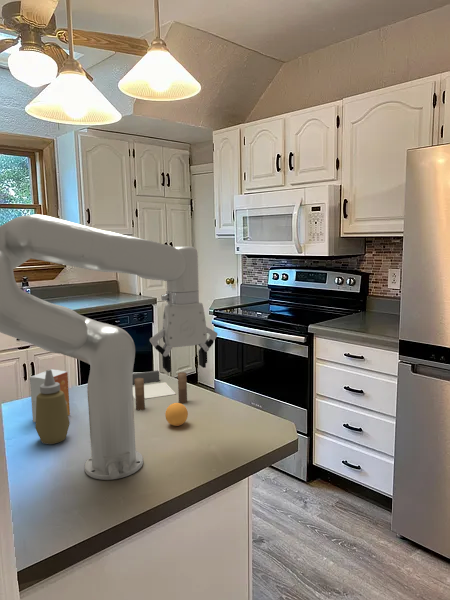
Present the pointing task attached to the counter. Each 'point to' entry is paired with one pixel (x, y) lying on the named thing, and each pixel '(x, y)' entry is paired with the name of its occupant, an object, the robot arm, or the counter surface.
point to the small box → (40, 379)
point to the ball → (176, 414)
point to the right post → (182, 387)
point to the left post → (139, 394)
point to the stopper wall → (147, 376)
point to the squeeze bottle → (51, 412)
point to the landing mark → (156, 390)
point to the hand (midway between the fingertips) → (185, 368)
